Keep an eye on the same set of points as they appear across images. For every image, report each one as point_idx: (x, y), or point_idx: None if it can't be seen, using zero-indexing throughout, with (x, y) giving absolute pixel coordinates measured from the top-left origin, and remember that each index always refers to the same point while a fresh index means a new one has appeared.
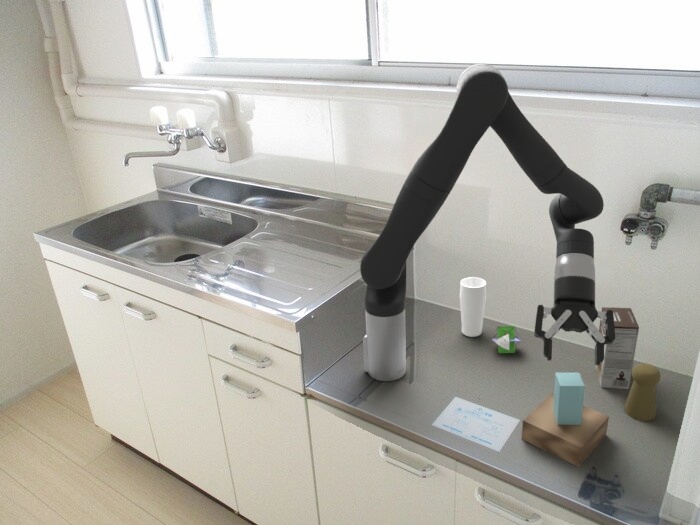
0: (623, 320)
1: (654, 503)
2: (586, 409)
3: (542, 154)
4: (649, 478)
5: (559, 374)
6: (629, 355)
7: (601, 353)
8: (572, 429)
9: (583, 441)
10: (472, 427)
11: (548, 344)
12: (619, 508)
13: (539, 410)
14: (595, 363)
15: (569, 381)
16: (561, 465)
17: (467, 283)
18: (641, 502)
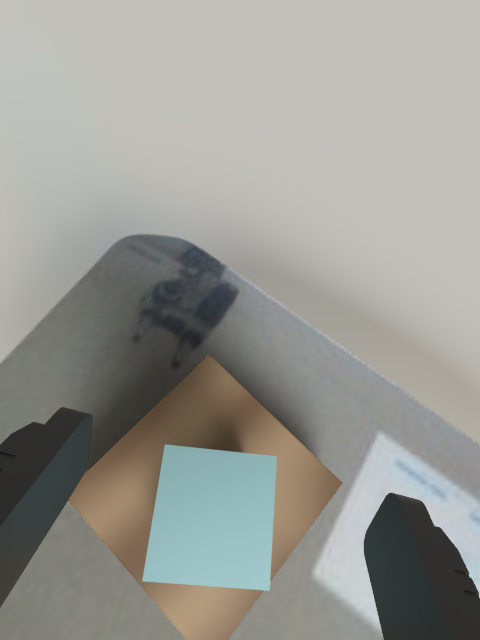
0: None
1: (98, 263)
2: (120, 540)
3: None
4: (67, 325)
5: (252, 567)
6: None
7: (5, 466)
8: (207, 430)
9: (194, 377)
10: None
11: (468, 607)
12: (172, 258)
13: (282, 537)
14: (86, 448)
15: (222, 492)
16: (245, 376)
17: None
18: (122, 267)
